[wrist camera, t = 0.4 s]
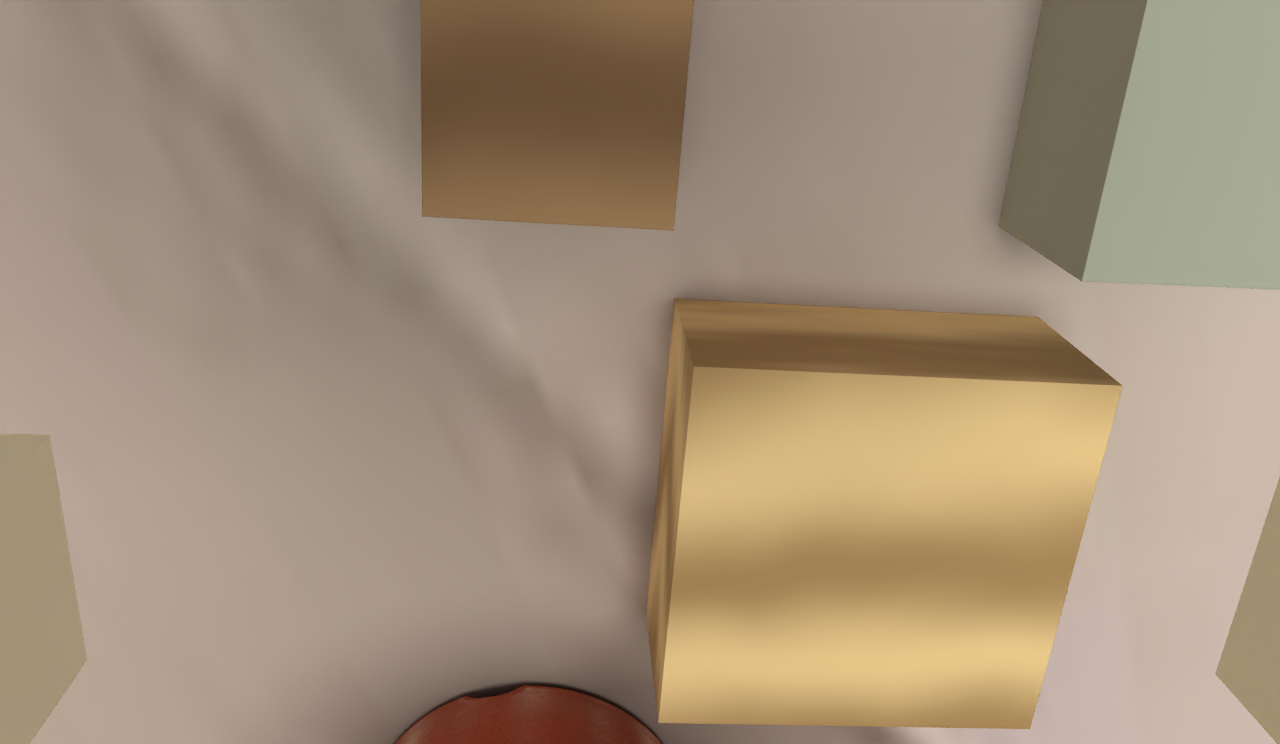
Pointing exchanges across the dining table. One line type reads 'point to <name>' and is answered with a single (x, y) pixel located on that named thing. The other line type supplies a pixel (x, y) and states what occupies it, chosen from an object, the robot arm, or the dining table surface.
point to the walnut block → (554, 110)
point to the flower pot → (529, 720)
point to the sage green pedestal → (1152, 142)
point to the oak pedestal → (867, 514)
